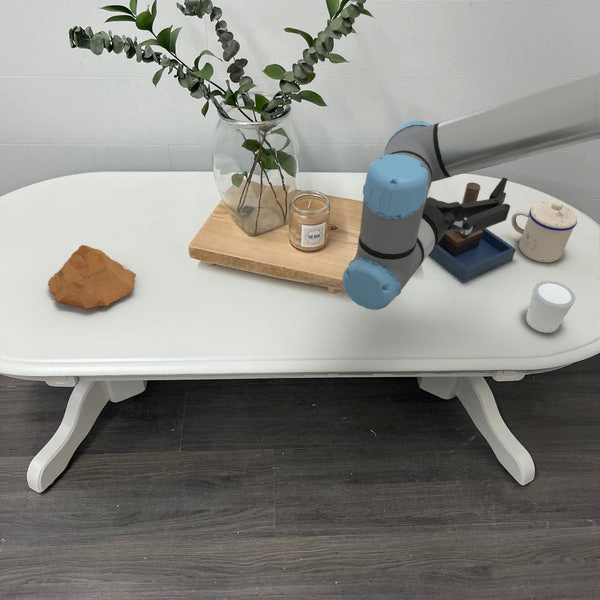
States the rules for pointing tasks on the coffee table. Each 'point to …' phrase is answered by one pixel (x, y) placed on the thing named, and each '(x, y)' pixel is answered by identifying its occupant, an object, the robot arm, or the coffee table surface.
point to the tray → (476, 257)
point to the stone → (91, 280)
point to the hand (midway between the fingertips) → (464, 173)
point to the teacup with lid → (545, 230)
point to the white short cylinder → (549, 306)
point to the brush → (452, 238)
